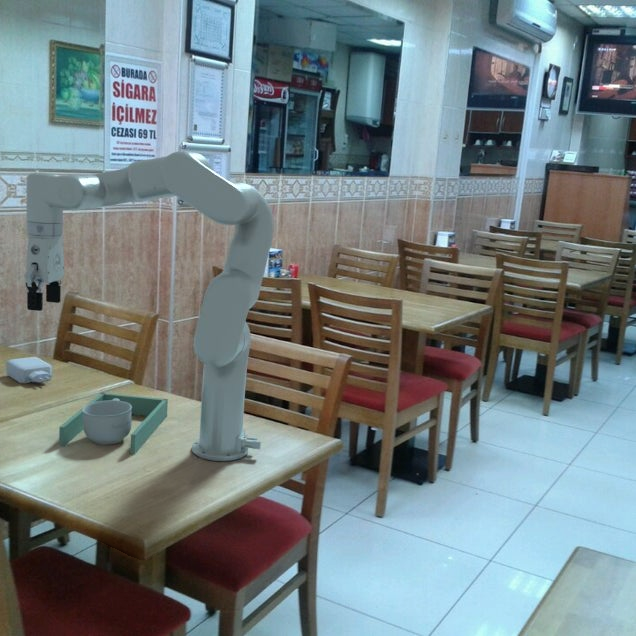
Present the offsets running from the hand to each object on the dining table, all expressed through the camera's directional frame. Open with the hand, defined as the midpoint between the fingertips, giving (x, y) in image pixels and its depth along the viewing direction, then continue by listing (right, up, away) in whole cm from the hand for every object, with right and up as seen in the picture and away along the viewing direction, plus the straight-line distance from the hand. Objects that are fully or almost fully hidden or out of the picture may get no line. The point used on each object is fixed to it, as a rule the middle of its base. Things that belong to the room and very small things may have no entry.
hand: (44, 306), depth 168 cm
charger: (-18, -20, +40) cm, 48 cm away
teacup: (+14, -30, +4) cm, 34 cm away
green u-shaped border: (+14, -29, +8) cm, 33 cm away
